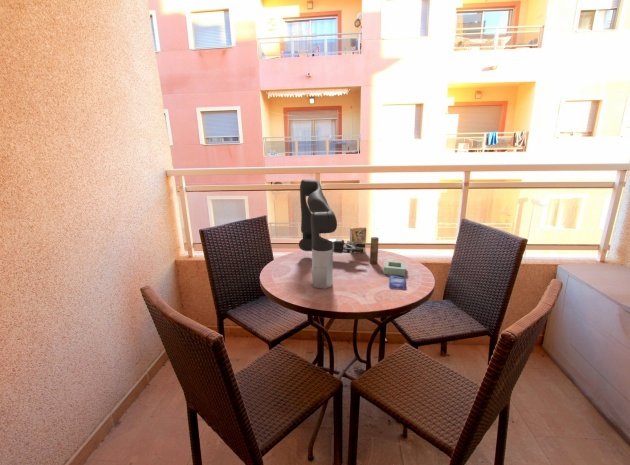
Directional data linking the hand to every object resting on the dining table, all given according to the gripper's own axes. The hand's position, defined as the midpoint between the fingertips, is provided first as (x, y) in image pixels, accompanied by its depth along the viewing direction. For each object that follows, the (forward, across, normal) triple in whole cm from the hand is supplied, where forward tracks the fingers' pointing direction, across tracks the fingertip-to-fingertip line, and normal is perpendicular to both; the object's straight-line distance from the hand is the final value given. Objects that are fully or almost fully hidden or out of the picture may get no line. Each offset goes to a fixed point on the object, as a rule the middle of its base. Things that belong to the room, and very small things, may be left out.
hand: (364, 248), depth 157 cm
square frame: (+16, -9, +8) cm, 20 cm away
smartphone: (+18, -22, +9) cm, 30 cm away
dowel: (+5, 0, +8) cm, 10 cm away
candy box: (-6, +16, +8) cm, 19 cm away
